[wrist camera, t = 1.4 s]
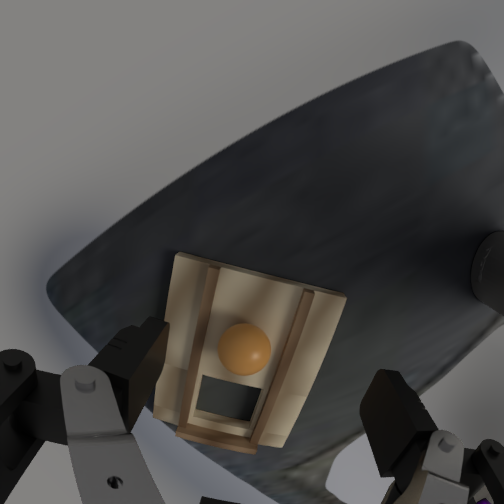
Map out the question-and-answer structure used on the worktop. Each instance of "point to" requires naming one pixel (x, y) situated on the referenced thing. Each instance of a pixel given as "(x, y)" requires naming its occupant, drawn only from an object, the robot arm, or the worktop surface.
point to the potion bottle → (483, 501)
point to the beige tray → (206, 355)
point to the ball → (244, 349)
